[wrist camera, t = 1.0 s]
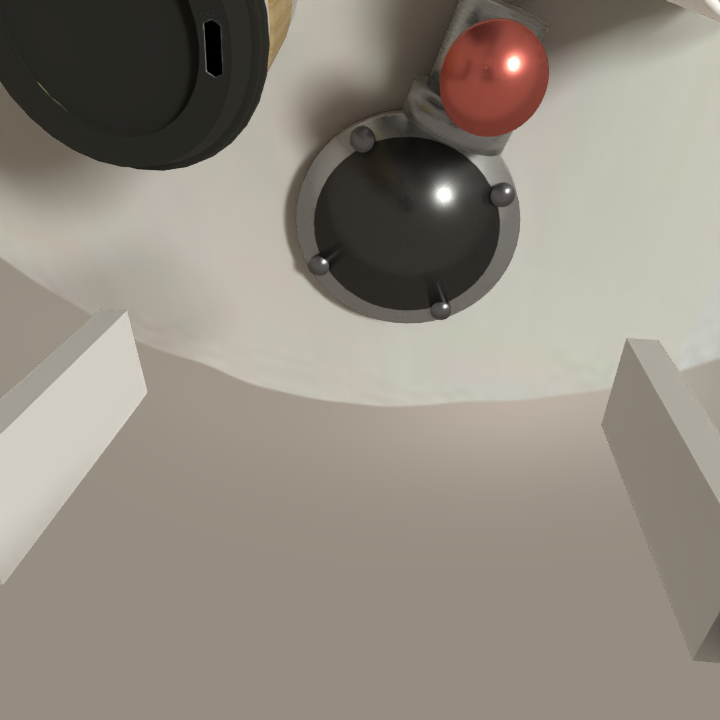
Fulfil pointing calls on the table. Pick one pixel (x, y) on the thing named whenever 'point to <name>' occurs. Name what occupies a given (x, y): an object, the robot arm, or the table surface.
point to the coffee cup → (141, 73)
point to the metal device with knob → (429, 177)
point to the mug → (701, 7)
